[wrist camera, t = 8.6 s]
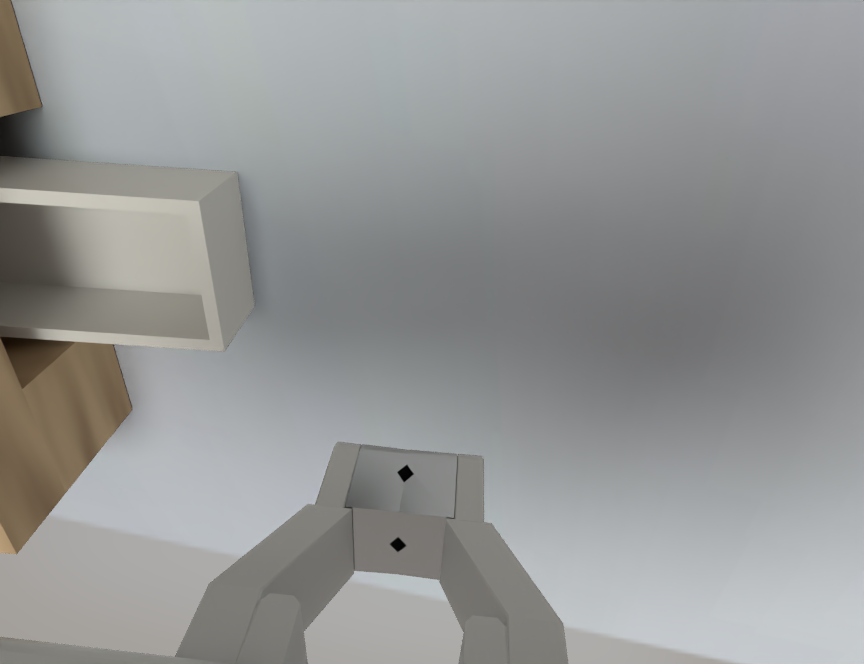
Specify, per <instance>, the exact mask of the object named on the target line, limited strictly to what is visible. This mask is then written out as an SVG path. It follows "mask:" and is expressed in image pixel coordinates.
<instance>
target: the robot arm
mask: <svg viewBox="0 0 864 664" xmlns="http://www.w3.org/2000/svg"><path fill="white" fill-rule="evenodd" d="M354 571H365V572H377V573H390V574H400V575H407V576H415V577H422V578H430V579H437V580H440V584H441V586H442V588H443V590H444V592H445V595H446V597H447V599H448V601H449V603H450V605H451V607H452V609H453V611H454V613H455V615H456V617H457V620H458V622H459V624H460V626H461V628H462V630H463V632H464V634H463V640H462V646H461V652H460V658H459V664H568V657H567V649H566V641H565V633H564V626H563V623H562V621H561V620H560V618H559V617H558V616H557V614H556V613H555V611H554V610H553V609H552V607H551V606H550V604H549V603H548V602H547V600H546V599H545V597H544V596H543V595H542V593H541V592H540V590H539V589H538V588H537V586H536V585H535V583H534V582H533V581H532V579H531V578H530V576H529V575H528V574H527V572H526V571H525V569H524V568H523V567H522V565H521V564H520V562H519V561H518V560H517V558H516V557H515V555H514V554H513V553H512V551H511V550H510V548H509V547H508V546H507V544H506V543H505V541H504V540H503V539H502V537H501V536H500V534H499V533H498V532H497V530H496V529H495V527H494V526H493V525H492V523H486V522H484V459H483V457H482V456H476V455H465V454H458V456H457V454H453V453H442V452H431V451H420V450H405V449H397V448H389V447H381V446H373V445H365V444H362V445H361V444H353V443H345V442H337V444H336V445H335V447H334V449H333V452H332V455H331V458H330V461H329V464H328V467H327V470H326V473H325V476H324V479H323V482H322V485H321V488H320V491H319V494H318V497H317V500H316V503H315V505H312V504H307V505H306V506H305V507H304V508H302V509H301V510H300V511H299V512H297V513H296V514H295V515H294V516H292V517H291V518H290V519H289V520H287V521H286V522H285V523H284V524H282V525H281V526H280V527H279V528H278V529H276V530H275V531H274V532H273V533H271V534H270V535H269V536H268V537H266V538H265V539H264V540H263V541H261V542H260V543H259V544H258V545H256V546H255V547H254V548H253V549H251V550H250V551H249V552H248V553H246V554H245V555H244V556H243V557H242V558H240V559H239V560H238V561H237V562H235V563H234V564H233V565H232V566H230V567H229V568H228V569H227V570H225V571H224V572H223V573H222V574H220V575H219V576H218V577H217V578H216V579H214V580H213V581H212V582H210V584H209V585H208V587H207V589H206V591H205V593H204V596H203V598H202V600H201V602H200V604H199V606H198V608H197V611H196V613H195V615H194V617H193V619H192V621H191V623H190V625H189V627H188V630H187V632H186V634H185V636H184V638H183V640H182V642H181V645H180V647H179V649H178V651H177V653H176V655H175V657H172V656H163V655H154V654H145V653H136V652H127V651H119V650H110V649H102V648H101V649H100V648H93V647H85V646H76V645H67V644H58V643H50V642H40V641H32V640H24V639H14V638H5V637H0V664H308V662H307V654H306V647H305V638H304V631H305V629H307V627H308V626H309V625H310V624H311V623H312V622H313V620H314V619H315V618H316V617H317V616H318V614H319V613H320V612H321V611H322V610H323V609H324V608H325V607H326V605H327V604H328V603H329V602H330V601H331V600H332V598H333V597H334V596H335V595H336V594H337V592H338V591H339V590H340V589H341V588H342V586H343V585H344V584H345V583H346V582H347V581H348V580H349V579H350V577H351V576H352V575H353V574H354Z"/></svg>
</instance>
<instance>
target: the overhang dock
mask: <svg viewBox="0 0 864 664" xmlns="http://www.w3.org/2000/svg"><path fill="white" fill-rule="evenodd" d="M39 107H42V105H41V101H40V98H39V95H38V91H37V88H36V85H35V81H34V78H33V75H32V71H31V68H30V65H29V61H28V58H27V54H26V51H25V48H24V44H23V41H22V38H21V34H20V31H19V28H18V24H17V21H16V17H15V14H14V11H13V7H12V4H11V1H10V0H0V117H2V116H6V115H10V114H14V113H19V112H23V111H27V110H31V109H35V108H39ZM131 411H132V407H131V404H130V400H129V397H128V394H127V390H126V387H125V384H124V380H123V377H122V374H121V370H120V367H119V363H118V360H117V357H116V353H115V350H114V347H113V344H103V343H89V342H74V341H59V340H44V339H29V338H14V337H0V553H8V554H17V553H18V552H19V551H20V550H21V548H22V547H23V546H24V544H25V543H26V542H27V541H28V540H29V538H30V537H31V536H32V535H33V533H34V532H35V531H36V530H37V528H38V527H39V526H40V524H41V523H42V522H43V521H44V520H45V518H46V517H47V516H48V515H49V513H50V512H51V511H52V509H53V508H54V507H55V506H56V504H57V503H58V502H59V501H60V499H61V498H62V497H63V496H64V494H65V493H66V492H67V491H68V489H69V488H70V487H71V486H72V484H73V483H74V482H75V481H76V479H77V478H78V477H79V476H80V474H81V473H82V472H83V471H84V469H85V468H86V467H87V466H88V464H89V463H90V462H91V461H92V459H93V458H94V457H95V456H96V454H97V453H98V452H99V451H100V449H101V448H102V447H103V446H104V444H105V443H106V442H107V441H108V439H109V438H110V437H111V436H112V434H113V433H114V432H115V431H116V429H117V428H118V427H119V426H120V424H121V423H122V422H123V421H124V419H125V418H126V417H127V416H128V414H129V413H130V412H131Z"/></svg>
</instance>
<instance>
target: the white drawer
mask: <svg viewBox="0 0 864 664" xmlns="http://www.w3.org/2000/svg"><path fill="white" fill-rule="evenodd" d="M254 307H255V304H254V296H253V289H252V281H251V273H250V266H249V258H248V250H247V243H246V235H245V227H244V220H243V212H242V204H241V197H240V189H239V181H238V174H237V172H233V171H218V170H203V169H188V168H173V167H158V166H143V165H128V164H113V163H98V162H83V161H68V160H53V159H38V158H23V157H8V156H0V337H14V338H29V339H44V340H59V341H74V342H89V343H103V344H118V345H133V346H148V347H163V348H178V349H193V350H208V351H223V352H225V350H226V349H227V347H228V346H229V344H230V343H231V341H232V340H233V338H234V337H235V335H236V334H237V332H238V331H239V329H240V328H241V326H242V325H243V323H244V322H245V320H246V319H247V317H248V316H249V314H250V313H251V311H252V310H253V308H254Z"/></svg>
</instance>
